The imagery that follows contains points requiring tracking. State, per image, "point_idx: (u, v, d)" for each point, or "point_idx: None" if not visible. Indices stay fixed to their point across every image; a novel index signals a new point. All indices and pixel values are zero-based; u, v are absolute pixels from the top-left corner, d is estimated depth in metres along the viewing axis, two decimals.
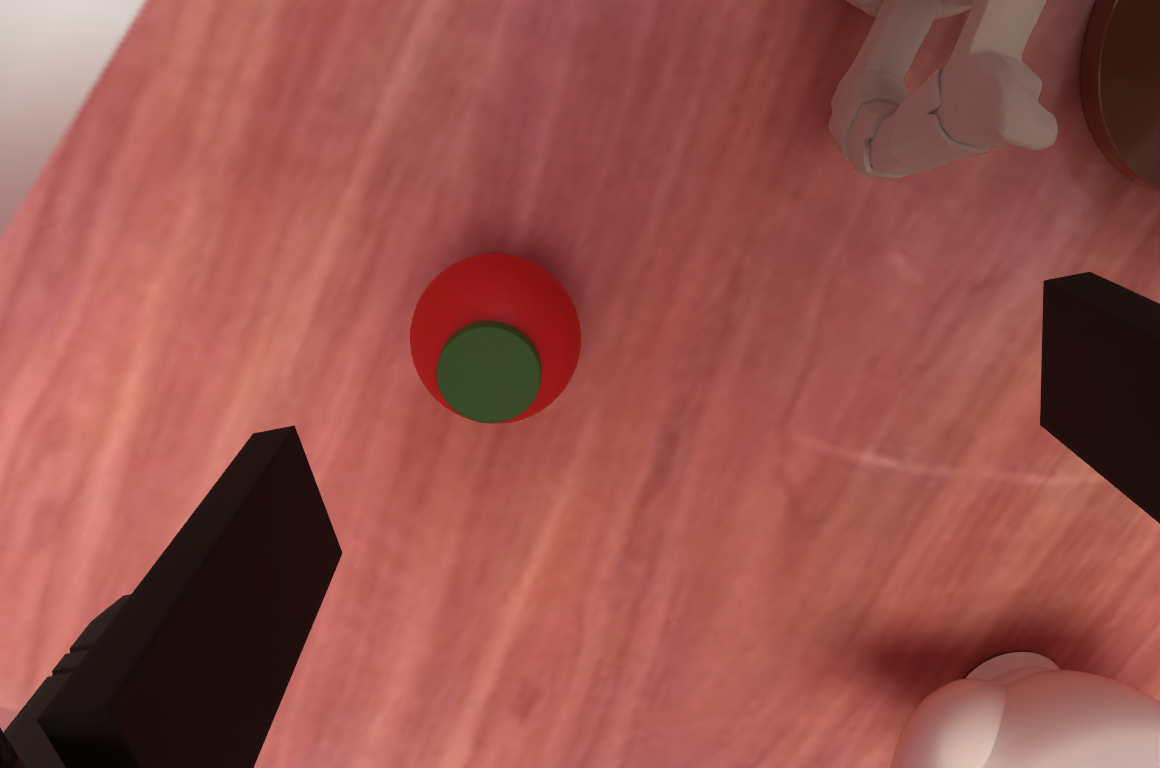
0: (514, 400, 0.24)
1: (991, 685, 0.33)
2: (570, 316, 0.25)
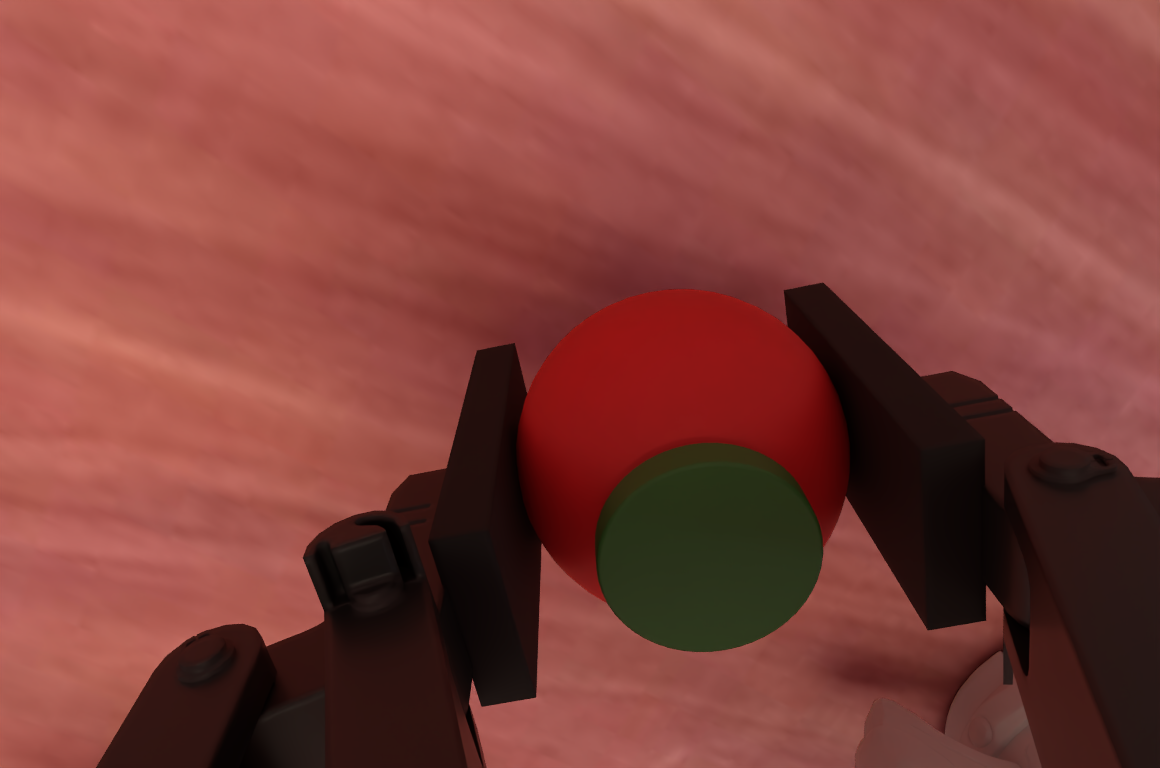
0: (651, 608, 0.11)
1: None
2: None
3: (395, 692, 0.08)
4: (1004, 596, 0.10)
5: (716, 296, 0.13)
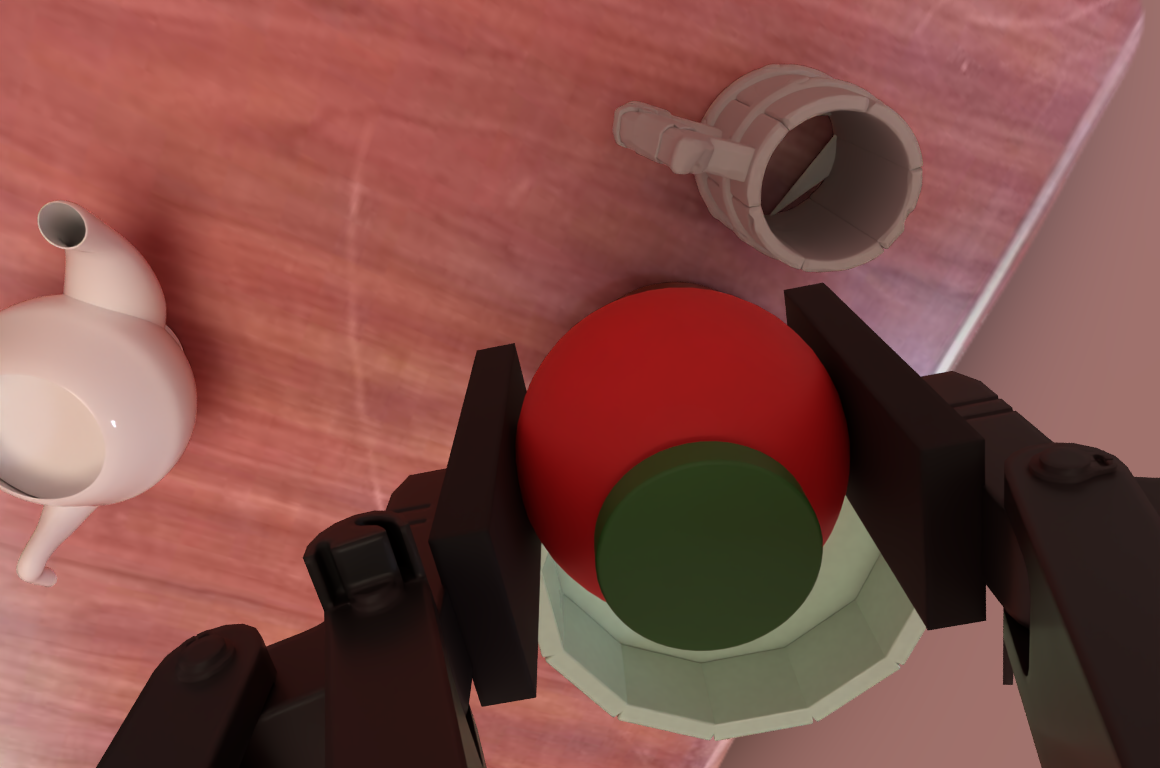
0: (650, 606, 0.11)
1: (165, 316, 0.38)
2: None
3: (395, 692, 0.08)
4: (1004, 596, 0.10)
5: (716, 294, 0.13)
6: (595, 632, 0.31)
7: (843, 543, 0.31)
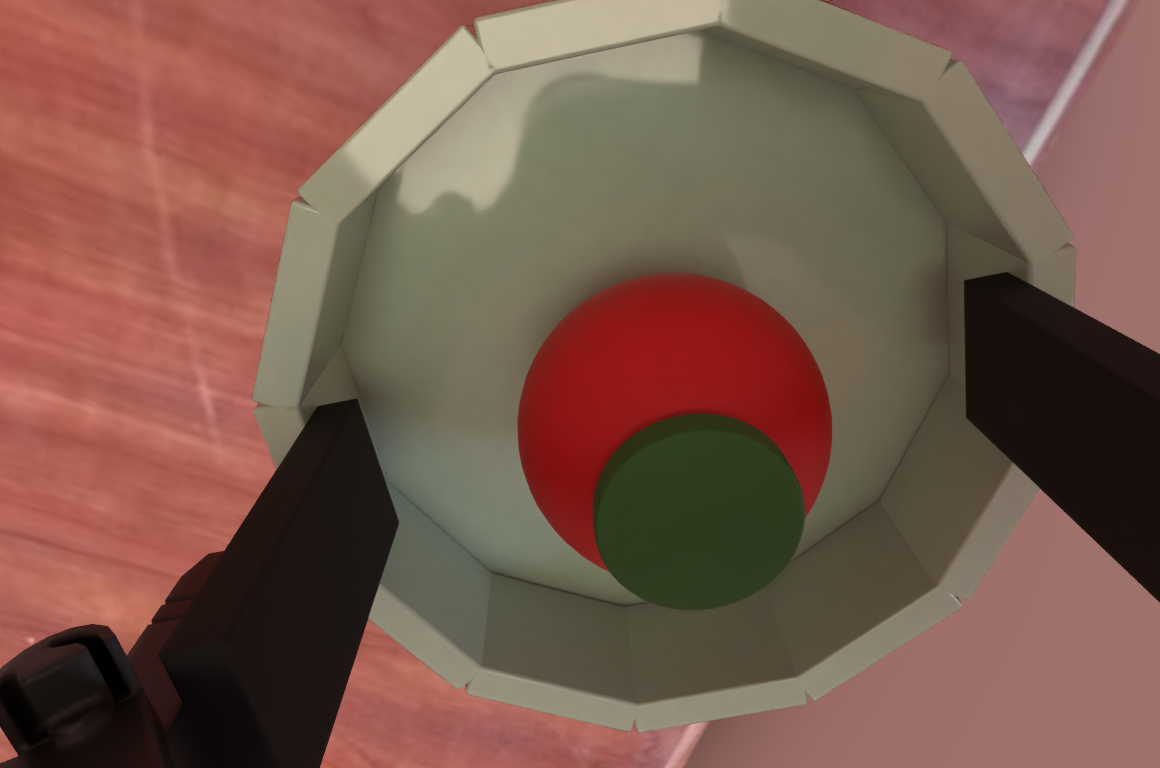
0: (645, 568, 0.12)
1: None
2: None
3: None
4: None
5: (706, 279, 0.14)
6: (440, 548, 0.18)
7: (861, 399, 0.18)
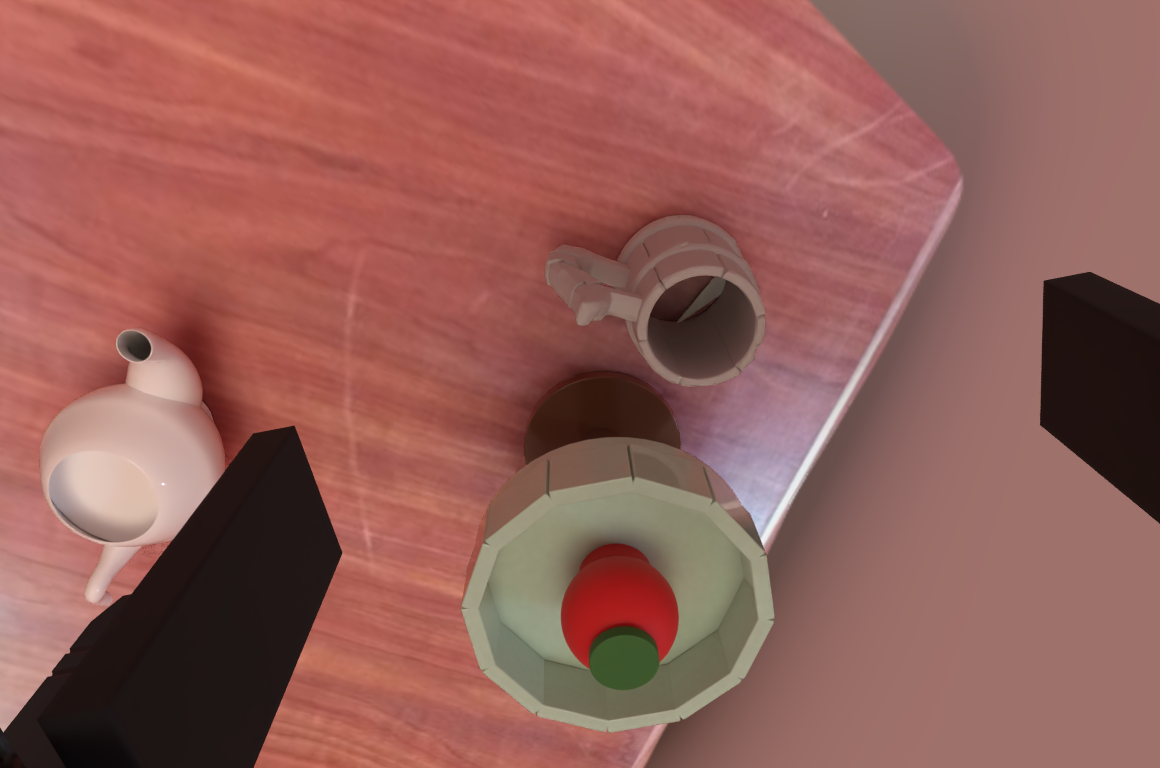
0: (606, 676, 0.35)
1: (202, 397, 0.48)
2: None
3: None
4: None
5: (631, 565, 0.37)
6: (523, 651, 0.42)
7: (707, 588, 0.41)
